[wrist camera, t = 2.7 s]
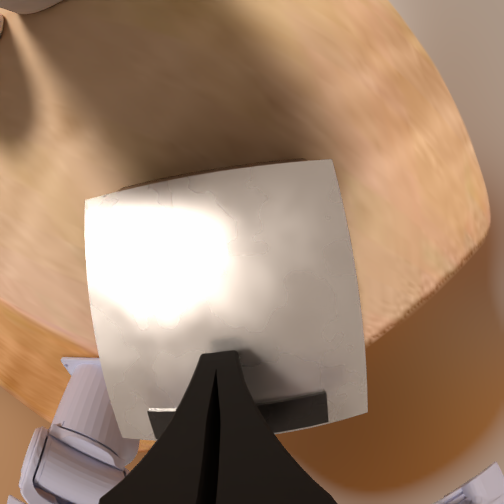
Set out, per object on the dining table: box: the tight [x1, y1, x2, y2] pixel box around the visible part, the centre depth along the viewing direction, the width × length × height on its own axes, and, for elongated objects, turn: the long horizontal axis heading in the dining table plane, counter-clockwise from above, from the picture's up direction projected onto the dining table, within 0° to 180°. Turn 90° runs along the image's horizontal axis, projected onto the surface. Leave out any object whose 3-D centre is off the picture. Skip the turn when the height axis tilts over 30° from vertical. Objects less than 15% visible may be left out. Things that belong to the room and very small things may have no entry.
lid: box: [85, 159, 368, 440], centre depth 11 cm, size 12×12×1 cm
